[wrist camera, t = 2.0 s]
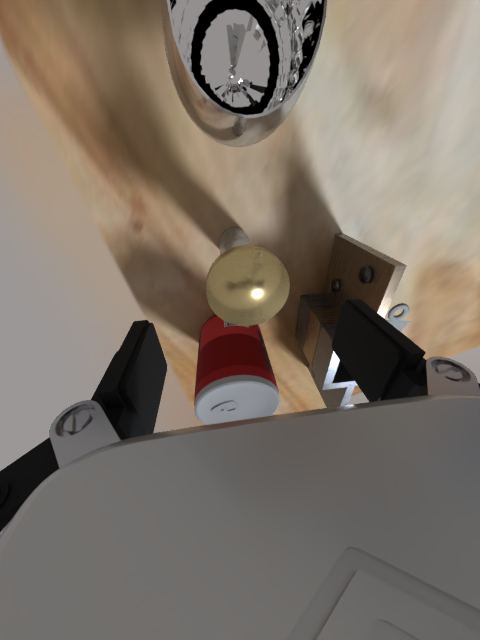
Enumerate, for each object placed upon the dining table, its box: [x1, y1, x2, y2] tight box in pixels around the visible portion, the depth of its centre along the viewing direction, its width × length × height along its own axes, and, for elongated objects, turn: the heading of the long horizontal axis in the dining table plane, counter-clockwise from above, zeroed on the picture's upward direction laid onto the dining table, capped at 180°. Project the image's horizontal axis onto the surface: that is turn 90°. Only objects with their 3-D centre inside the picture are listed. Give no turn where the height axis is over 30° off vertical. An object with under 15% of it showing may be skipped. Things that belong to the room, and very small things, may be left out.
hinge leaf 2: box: [295, 294, 358, 408], centre depth 27 cm, size 13×6×9 cm, turn 2°
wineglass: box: [162, 0, 327, 147], centre depth 11 cm, size 6×6×12 cm
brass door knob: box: [206, 228, 290, 326], centre depth 17 cm, size 5×5×10 cm
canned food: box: [194, 315, 280, 425], centre depth 24 cm, size 8×8×11 cm
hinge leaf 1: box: [303, 234, 407, 368], centre depth 23 cm, size 13×6×9 cm, turn 2°
